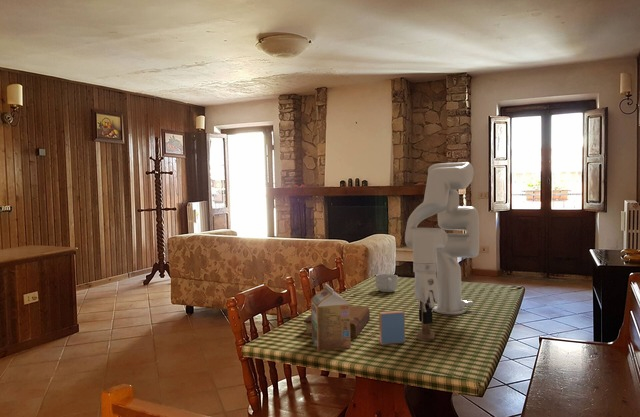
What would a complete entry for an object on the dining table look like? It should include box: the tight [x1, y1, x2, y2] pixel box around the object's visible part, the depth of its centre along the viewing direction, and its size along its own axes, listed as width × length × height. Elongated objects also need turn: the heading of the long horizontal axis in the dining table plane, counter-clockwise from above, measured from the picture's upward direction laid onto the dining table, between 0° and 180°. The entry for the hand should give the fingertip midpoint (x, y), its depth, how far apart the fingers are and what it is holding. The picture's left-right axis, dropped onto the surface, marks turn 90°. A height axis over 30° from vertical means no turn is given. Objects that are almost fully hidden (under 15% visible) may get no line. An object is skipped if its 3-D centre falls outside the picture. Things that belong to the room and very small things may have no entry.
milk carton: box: [310, 283, 352, 352], centre depth 153 cm, size 11×11×19 cm
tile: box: [378, 310, 406, 345], centre depth 153 cm, size 8×2×10 cm, turn 98°
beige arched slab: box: [303, 305, 371, 339], centre depth 172 cm, size 23×19×6 cm
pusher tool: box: [417, 301, 436, 342], centre depth 156 cm, size 6×6×14 cm
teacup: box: [375, 273, 399, 293], centre depth 228 cm, size 14×11×8 cm
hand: (425, 321), depth 156 cm, fingers closed on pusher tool, 2 cm apart
